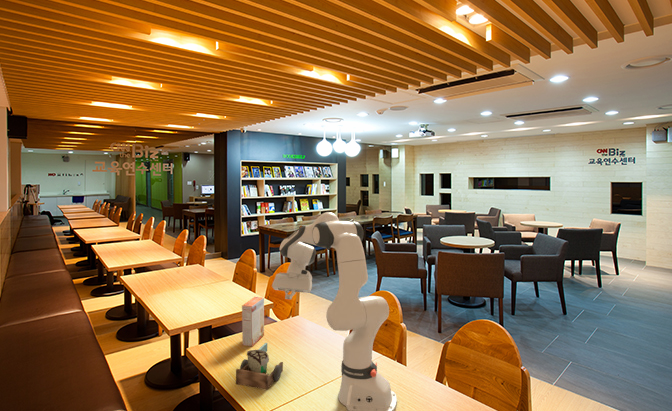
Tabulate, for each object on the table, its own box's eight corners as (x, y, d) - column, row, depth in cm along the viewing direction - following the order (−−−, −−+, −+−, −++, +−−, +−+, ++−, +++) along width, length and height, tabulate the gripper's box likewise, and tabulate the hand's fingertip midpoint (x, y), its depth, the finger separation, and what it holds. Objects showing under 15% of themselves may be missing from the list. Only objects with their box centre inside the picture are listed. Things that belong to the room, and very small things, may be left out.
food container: (274, 380, 150) (274, 356, 149) (261, 385, 146) (261, 361, 145) (259, 368, 159) (259, 346, 158) (246, 373, 155) (246, 350, 154)
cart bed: (285, 371, 157) (285, 358, 156) (269, 390, 142) (269, 376, 142) (251, 365, 161) (251, 352, 161) (233, 383, 147) (233, 369, 146)
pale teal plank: (265, 350, 175) (265, 342, 175) (267, 351, 175) (267, 343, 175) (251, 364, 162) (251, 356, 162) (253, 365, 162) (253, 356, 161)
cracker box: (254, 334, 194) (254, 296, 193) (264, 335, 193) (264, 297, 191) (241, 345, 180) (241, 304, 179) (252, 347, 179) (252, 306, 178)
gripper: (274, 269, 185) (266, 293, 177) (312, 272, 180) (305, 297, 171) (278, 275, 190) (270, 299, 182) (315, 278, 184) (308, 303, 176)
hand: (288, 298), depth 176 cm, fingers closed
